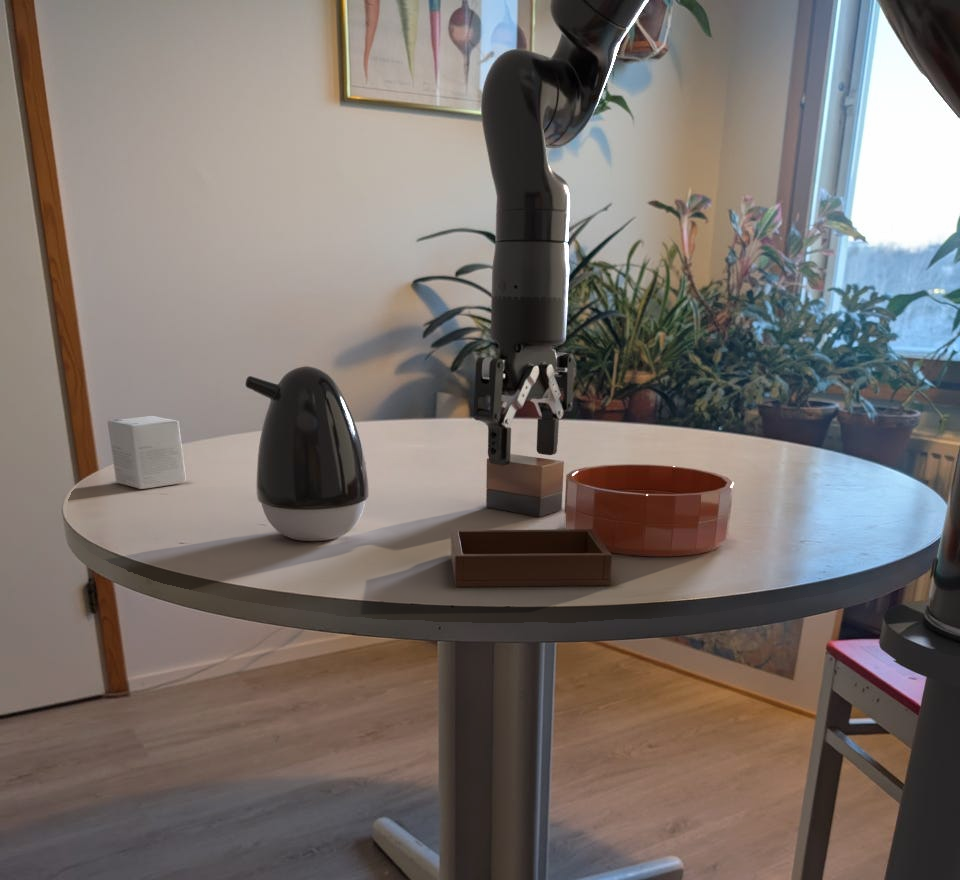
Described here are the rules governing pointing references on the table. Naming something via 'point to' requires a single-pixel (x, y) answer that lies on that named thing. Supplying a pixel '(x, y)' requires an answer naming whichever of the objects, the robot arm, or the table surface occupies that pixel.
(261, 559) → the table surface
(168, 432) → the product carton
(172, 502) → the table surface
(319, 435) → the pump dispenser
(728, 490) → the bowl
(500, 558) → the tray
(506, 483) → the eraser
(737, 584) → the table surface
